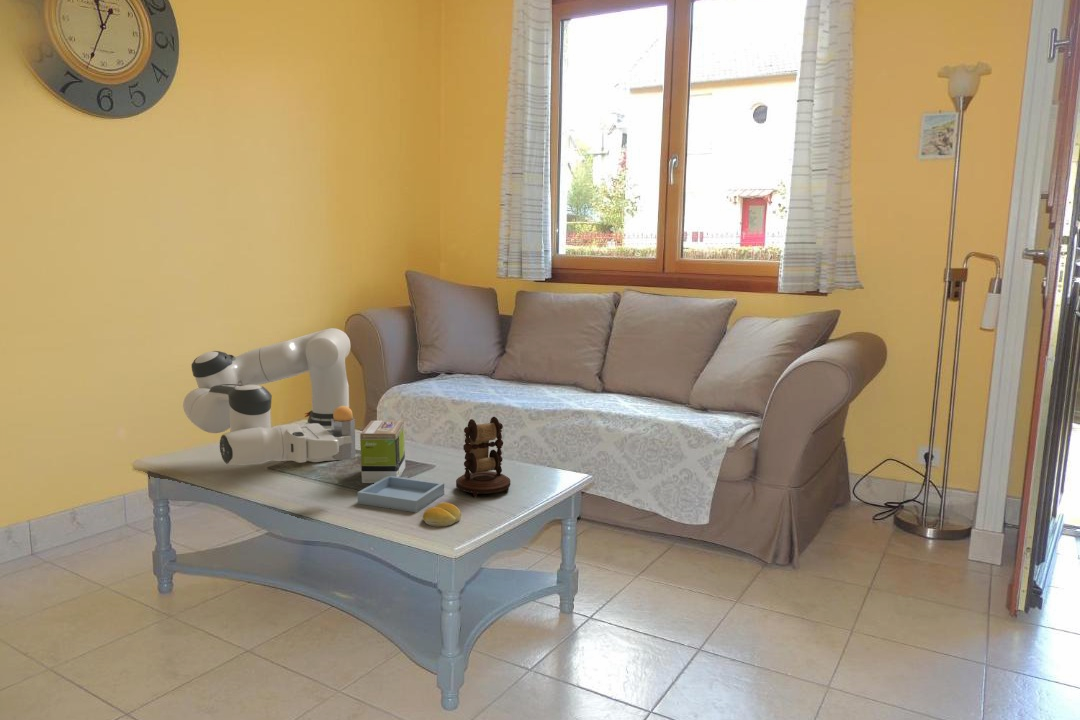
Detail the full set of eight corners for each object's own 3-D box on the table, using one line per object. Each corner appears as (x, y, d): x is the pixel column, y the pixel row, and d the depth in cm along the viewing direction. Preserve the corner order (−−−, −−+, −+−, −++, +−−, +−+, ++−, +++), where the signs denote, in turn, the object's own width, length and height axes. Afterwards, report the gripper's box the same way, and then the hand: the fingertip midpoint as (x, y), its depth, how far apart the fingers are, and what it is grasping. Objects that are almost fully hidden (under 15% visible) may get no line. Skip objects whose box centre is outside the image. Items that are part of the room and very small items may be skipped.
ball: (329, 425, 195) (329, 407, 194) (340, 421, 199) (340, 403, 198) (345, 427, 193) (345, 409, 192) (356, 423, 197) (356, 405, 197)
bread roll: (416, 523, 184) (416, 507, 184) (441, 512, 191) (441, 497, 191) (442, 530, 179) (442, 514, 179) (467, 519, 187) (467, 504, 186)
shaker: (336, 460, 194) (335, 422, 192) (330, 455, 198) (329, 417, 197) (357, 458, 196) (356, 420, 195) (351, 453, 201) (350, 415, 199)
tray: (357, 503, 196) (357, 492, 196) (388, 486, 210) (388, 475, 210) (416, 512, 190) (416, 501, 190) (444, 494, 204) (444, 483, 204)
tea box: (372, 467, 226) (371, 419, 224) (406, 468, 226) (405, 419, 224) (360, 484, 212) (359, 432, 209) (397, 484, 212) (396, 432, 209)
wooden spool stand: (495, 478, 219) (495, 409, 215) (520, 493, 206) (521, 421, 203) (447, 485, 211) (447, 415, 208) (470, 502, 199) (470, 427, 195)
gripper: (283, 444, 199) (336, 438, 206) (301, 464, 182) (358, 457, 189) (282, 420, 198) (335, 415, 205) (300, 438, 181) (358, 432, 188)
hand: (346, 435), depth 197 cm, fingers closed on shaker, 5 cm apart
